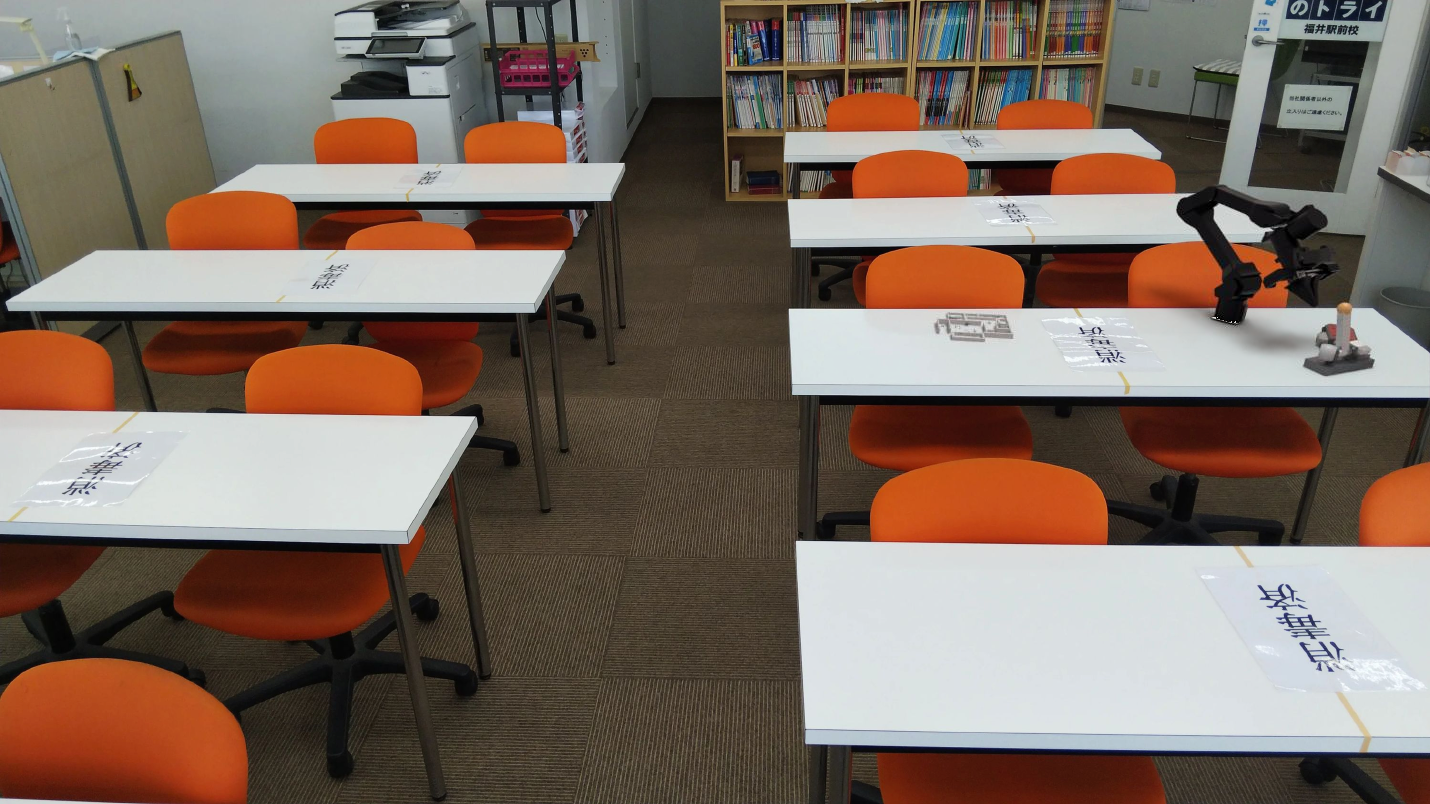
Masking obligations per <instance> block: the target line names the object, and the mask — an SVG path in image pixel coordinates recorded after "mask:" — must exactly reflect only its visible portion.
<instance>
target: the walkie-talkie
mask: <svg viewBox="0 0 1430 804" xmlns="http://www.w3.org/2000/svg"><path fill="white" fill-rule="evenodd" d="M1336 327H1337V323H1327V324H1325V325H1324V326H1322V327H1321V332H1319V333H1318V334H1317V336H1316V339H1315V343H1316V345H1315V346H1317V347H1321V345H1322V344H1331V345H1334V346H1336ZM1356 340H1358V341H1359V339H1358V337H1357V334H1356V332H1355V329H1354V328H1353V327H1351V326H1350V341H1356Z"/></svg>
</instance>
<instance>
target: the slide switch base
mask: <svg viewBox="0 0 1430 804" xmlns="http://www.w3.org/2000/svg"><path fill="white" fill-rule="evenodd" d="M1349 348H1350V349H1351V350H1352V355H1351V356H1348V357H1342V358H1338V356H1339V353H1340V350H1339V349H1337V350H1336V353H1335V356H1334V359H1333V361H1325V360H1321V359H1319V358H1318V355H1317V356H1312V357H1311V356H1310V357H1306V358H1304V362H1303V365H1302V366H1303V367H1304V368H1307V369H1308V370H1311V371H1313V372H1315V373H1318V374H1320V375H1322V376H1325V377H1326V376H1327V377H1329V376H1332V375H1337V374H1343V373H1344V374H1345V373H1349V372H1355V371H1360V370H1361V371H1362V370H1366V369H1372V368H1373V367H1374V365H1375V364H1374V363H1375V361H1376V360H1375V359H1374V358H1372V357H1371V354H1370V353H1368V354H1362V355H1360V354H1358V353H1357V350H1358V347H1357V346H1354V345H1352V344H1349Z"/></svg>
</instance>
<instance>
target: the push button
mask: <svg viewBox="0 0 1430 804" xmlns="http://www.w3.org/2000/svg"><path fill="white" fill-rule="evenodd" d="M1336 350H1337V347H1336V346H1334V345H1331V344H1322V345H1321V346H1320V349H1319V351H1318V355H1317V356H1318V358H1319V359H1321V360H1325V361H1333V359H1334V356H1335V353H1336Z"/></svg>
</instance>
